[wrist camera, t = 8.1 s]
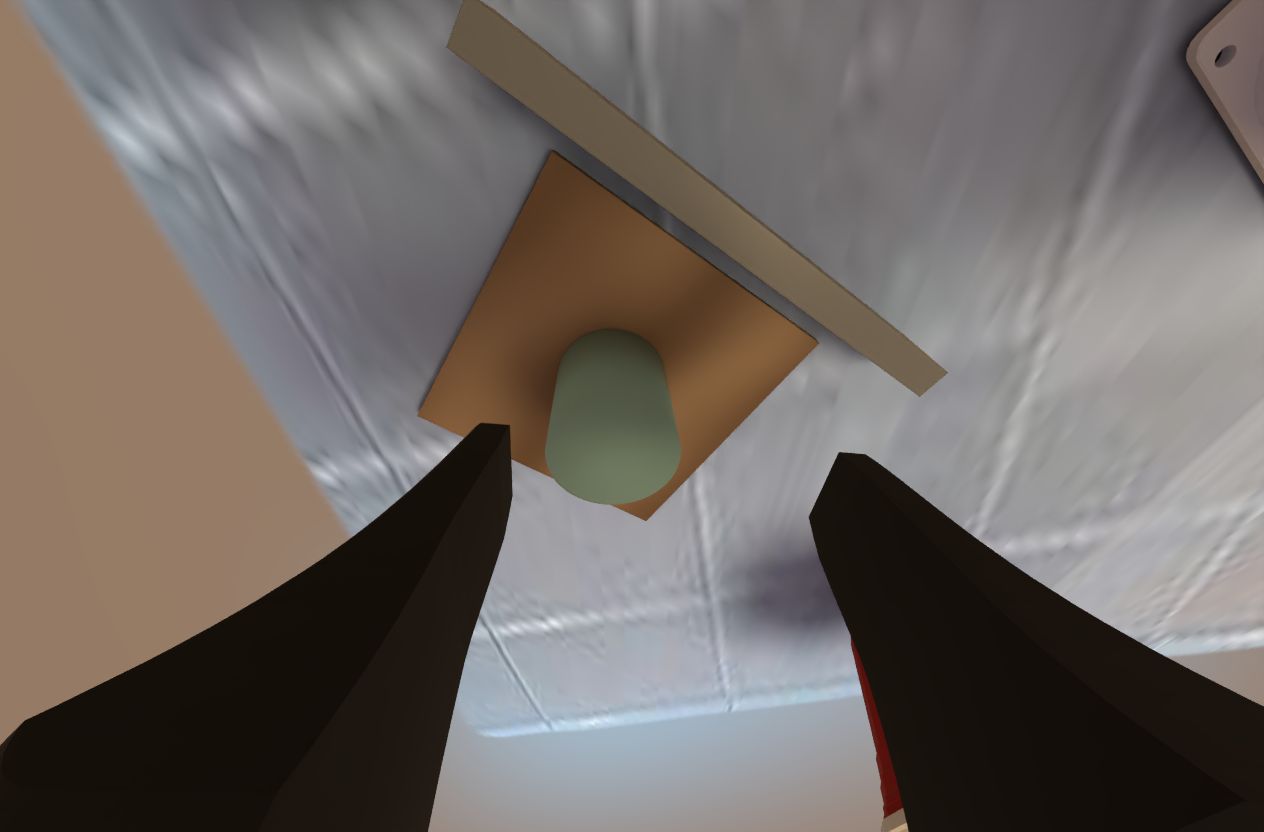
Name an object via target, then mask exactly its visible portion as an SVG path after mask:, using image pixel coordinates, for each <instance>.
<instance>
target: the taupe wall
mask: <svg viewBox="0 0 1264 832" xmlns="http://www.w3.org/2000/svg"><path fill="white" fill-rule="evenodd" d="M447 48H448V49H449V50H451V51H452V52H454V53H455V54H456V55H458V56H459V57H460V58H462V59H463V60H464V61H466V62H467V63H468V64H470V65H471V66H472V67H474V68H475V69H477V70H478V71H479V72H481V73H482V74H483V75H485V76H486V77H487V78H489V79H490V80H491V81H493V82H494V83H495V84H497V85H498V86H500V87H501V88H502V89H504V90H505V91H506V92H508V93H509V94H510V95H512V96H513V97H514V98H516V99H517V100H519V101H520V102H521V103H523V104H524V105H525V106H527V107H528V108H529V109H531V110H532V111H533V112H535V113H536V114H537V115H539V116H540V117H542V118H543V119H544V120H546V121H547V122H548V123H550V124H551V125H552V126H554V127H555V128H556V129H558V130H559V131H560V132H562V133H563V134H565V135H566V136H567V137H569V138H570V139H571V140H573V141H574V142H575V143H577V144H578V145H579V146H581V147H582V148H583V149H585V150H586V151H588V152H589V153H590V154H592V155H593V156H594V157H596V158H597V159H598V160H600V161H601V162H602V163H604V164H605V165H607V166H608V167H609V168H611V169H612V170H613V171H615V172H616V173H617V174H619V175H620V176H621V177H623V178H624V179H625V180H627V181H628V182H630V183H631V184H632V185H634V186H635V187H636V188H638V189H639V190H640V191H642V192H643V193H644V194H646V195H647V196H648V197H650V198H651V199H653V200H654V201H655V202H657V203H658V204H659V205H661V206H662V207H663V208H665V209H666V210H667V211H669V212H670V213H671V214H673V215H674V216H676V217H677V218H678V219H680V220H681V221H682V222H684V223H685V224H686V225H688V226H689V227H690V228H692V229H693V230H695V231H696V232H697V233H699V234H700V235H701V236H703V237H704V238H705V239H707V240H708V241H709V242H711V243H712V244H713V245H715V246H716V247H718V248H719V249H720V250H722V251H723V252H724V253H726V254H727V255H728V256H730V257H731V258H732V259H734V260H735V261H736V262H738V263H739V264H741V265H742V266H743V267H745V268H746V269H747V270H749V271H750V272H751V273H753V274H754V275H755V276H757V277H758V278H760V279H761V280H762V281H764V282H765V283H766V284H768V285H769V286H770V287H772V288H773V289H774V290H776V291H777V292H778V293H780V294H781V295H783V296H784V297H785V298H787V299H788V300H789V301H791V302H792V303H793V304H795V305H796V306H797V307H799V308H800V309H801V310H803V311H804V312H806V313H807V314H808V315H810V316H811V317H812V318H814V319H815V320H816V321H818V322H819V323H820V324H822V325H823V326H824V327H826V328H827V329H829V330H830V331H831V332H833V333H834V334H835V335H837V336H838V337H839V338H841V339H842V340H843V341H845V342H846V343H848V344H849V345H850V346H852V347H853V348H854V349H856V350H857V351H858V352H860V353H861V354H862V355H864V356H865V357H866V358H868V359H869V360H871V361H872V362H873V363H875V364H876V365H877V366H879V367H880V368H881V369H883V370H884V371H885V372H887V373H888V374H889V375H891V376H892V377H894V378H895V379H896V380H898V381H899V382H900V383H902V384H903V385H904V386H906V387H907V388H908V389H910V390H911V391H913V392H914V393H915V394H917V395H918V396H919V397H920V396H921V395H922V394H923V393H925V392H926V391H927V390H928V389H929V388H931V387H932V386H933V385H934V384H935V383H936V382H938V381H939V380H940V379H941V378H942V377H943V376H945V375H946V374H947V373H948V372H947V371H946V370H944V369H943V368H942V367H941V366H940V365H939V364H937V363H936V362H935V361H934V360H933V359H932V358H930V357H929V356H928V355H927V354H926V353H925V352H923V351H922V350H921V349H920V348H919V347H918V346H916V345H915V344H914V343H913V342H912V341H911V340H909V339H908V338H907V337H906V336H905V335H903V334H902V333H901V332H900V331H898V330H897V329H896V328H895V327H893V326H892V325H891V324H890V323H888V322H887V321H886V320H885V319H883V318H882V317H881V316H879V315H878V314H877V313H876V312H874V311H873V310H872V309H871V308H869V307H868V306H867V305H866V304H864V303H863V302H862V301H861V300H859V299H858V298H857V297H856V296H854V295H853V294H852V293H850V292H849V291H848V290H847V289H845V288H844V287H843V286H842V285H840V284H839V283H838V282H837V281H835V280H834V279H833V278H832V277H830V276H829V275H828V274H827V273H825V272H824V271H823V270H822V269H820V268H819V267H818V266H816V265H815V264H814V263H813V262H811V261H810V260H809V259H808V258H806V257H805V256H804V255H803V254H801V253H800V252H799V251H798V250H796V249H795V248H794V247H793V246H791V245H790V244H789V243H788V242H786V241H785V240H784V239H782V238H781V237H780V236H779V235H777V234H776V233H775V232H774V231H772V230H771V229H770V228H769V227H767V226H766V225H765V224H764V223H762V222H761V221H760V220H759V219H757V218H756V217H755V216H753V215H752V214H751V213H750V212H748V211H747V210H746V209H745V208H743V207H742V206H741V205H740V204H738V203H737V202H736V201H735V200H733V199H732V198H731V197H730V196H728V195H727V194H726V193H725V192H723V191H722V190H721V189H719V188H718V187H717V186H716V185H714V184H713V183H712V182H711V181H709V180H708V179H707V178H706V177H704V176H703V175H702V174H701V173H699V172H698V171H697V170H696V169H694V168H693V167H692V166H690V165H689V164H688V163H687V162H685V161H684V160H683V159H682V158H680V157H679V156H678V155H677V154H675V153H674V152H673V151H672V150H670V149H669V148H668V147H667V146H665V145H664V144H663V143H662V142H660V141H659V140H658V139H656V138H655V137H654V136H653V135H651V134H650V133H649V132H648V131H646V130H645V129H644V128H643V127H641V126H640V125H639V124H638V123H636V122H635V121H634V120H633V119H631V118H630V117H629V116H628V115H626V114H625V113H624V112H622V111H621V110H620V109H619V108H617V107H616V106H615V105H614V104H612V103H611V102H610V101H609V100H607V99H606V98H605V97H604V96H602V95H601V94H600V93H599V92H597V91H596V90H595V89H593V88H592V87H591V86H590V85H588V84H587V83H586V82H585V81H583V80H582V79H581V78H580V77H578V76H577V75H576V74H575V73H573V72H572V71H571V70H570V69H568V68H567V67H566V66H565V65H563V64H562V63H561V62H559V61H558V60H557V59H556V58H554V57H553V56H552V55H551V54H549V53H548V52H547V51H546V50H544V49H543V48H542V47H541V46H539V45H538V44H537V43H536V42H534V41H533V40H532V39H531V38H529V37H528V36H527V35H525V34H524V33H523V32H522V31H520V30H519V29H518V28H517V27H515V26H514V25H513V24H512V23H510V22H509V21H508V20H507V19H505V18H504V17H503V16H502V15H500V14H499V13H498V12H496V11H495V10H494V9H492V8H491V7H489V6H488V5H486V4H484V3H483V2H481V1H480V0H463V3H462V6H461V9H460V11H459V14H458V17H457V20H456V22H455V25H454V28H453V31H452V33H451V36H450V39H449V42H448V44H447Z"/></svg>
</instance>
